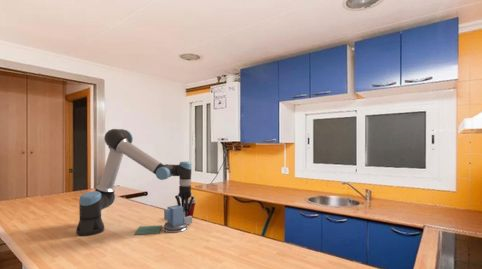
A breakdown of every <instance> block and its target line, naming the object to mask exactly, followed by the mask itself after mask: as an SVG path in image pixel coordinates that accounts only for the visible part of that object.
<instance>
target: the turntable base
mask: <svg viewBox="0 0 482 269" xmlns="http://www.w3.org/2000/svg"><path fill="white" fill-rule="evenodd" d="M162 227H163V228H162V231H163V232H164V233H168V234H170V233H171V234H177V233H182V232H185V231H186V230H188V229H189V228H188V225H187V227H186V228H184V229H182V230H177V231H169V230H165V229H164V226H162Z"/></svg>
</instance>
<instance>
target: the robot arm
mask: <svg viewBox="0 0 482 269" xmlns="http://www.w3.org/2000/svg"><path fill="white" fill-rule="evenodd" d="M103 139H104V142H105V144H106V146H107V147H108V150H109V152H108V156H107V159H106V162H105V166H104V169H103V173H102V175H101V179H100V182H99V185H96V186H95V190H94V191H93V190H92V191H87V192H85V193H82V194H81V195H80V196H79V201H78V203H79V206H78V207H79V221H78V224H77V226H76V230H75V234H76V235H77V236H81V237H83V236H84V237H86V236H87V237H89V236H94V235H97V234H100V233H103V232H104V231H105V225H104V222H103V219H102V210H104V209H107V208H108V207H110V206H111V205H112V204H114V202H115V200H116V194H115V192H116V189H115V188H114V186H115V182H116V180H117V176H118V173H119V169H120V167H121V163H122V159H123V156H126V157H127V158H129V159H130V160H132V161H133V162H135V163H137V164H138V165H140V166H142V167H143V168H145V169H146V170H148V171H150V172H151V173H153V175H155V177H156V178H157V179H158V180H161V181H164V180H167V179H169V178H170V177H178V178H179V188H178V194H177V195H175V196H174V197H175V199H176V202H177V203H176V205H179V206H182V207H183V217H187V216H188V211H190V210H191V206H192V202H193V200H195V198H196V197H195V195H193V194H192V162H190V161H180V162H179V164H163V162H160V161H158V160H157V159H155V158H154V157H153V156H151V155H149V154H148V153H146V152H145V151H144V150H142V149H140V148H139V147H137V146H136V145H134V144H133V141H134V138H133V134H132V133H131V131H129V130H127V129H124V128H121V129H120V128H112V129H109V130H107V131H106V133H105V134H104V138H103ZM188 199H191V200H190V203H189V207H188ZM181 201H182V202H181ZM184 205H185V211H184Z"/></svg>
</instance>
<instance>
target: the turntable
mask: <svg viewBox="0 0 482 269" xmlns="http://www.w3.org/2000/svg"><path fill="white" fill-rule="evenodd" d="M189 224H193V217H192V216H187V217H183V223H182V224H179V225H175V226H172V225H170V224H168V221H167V222H165V223H164V224H163V227H164V229H165V230H169V231H177V230H182V229H184V228H186V227H187V226H188V225H189Z"/></svg>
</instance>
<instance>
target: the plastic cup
mask: <svg viewBox="0 0 482 269" xmlns="http://www.w3.org/2000/svg"><path fill="white" fill-rule="evenodd" d="M190 200H191V198H189V199H188V207H189V203H190ZM180 203H182V201H181V200H180ZM196 203H197V200H196V199H193V202H192V206H191V210H190V211H188V216H192V218H193V217H194V211H195V208H196ZM184 211H185V205H184Z"/></svg>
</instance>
